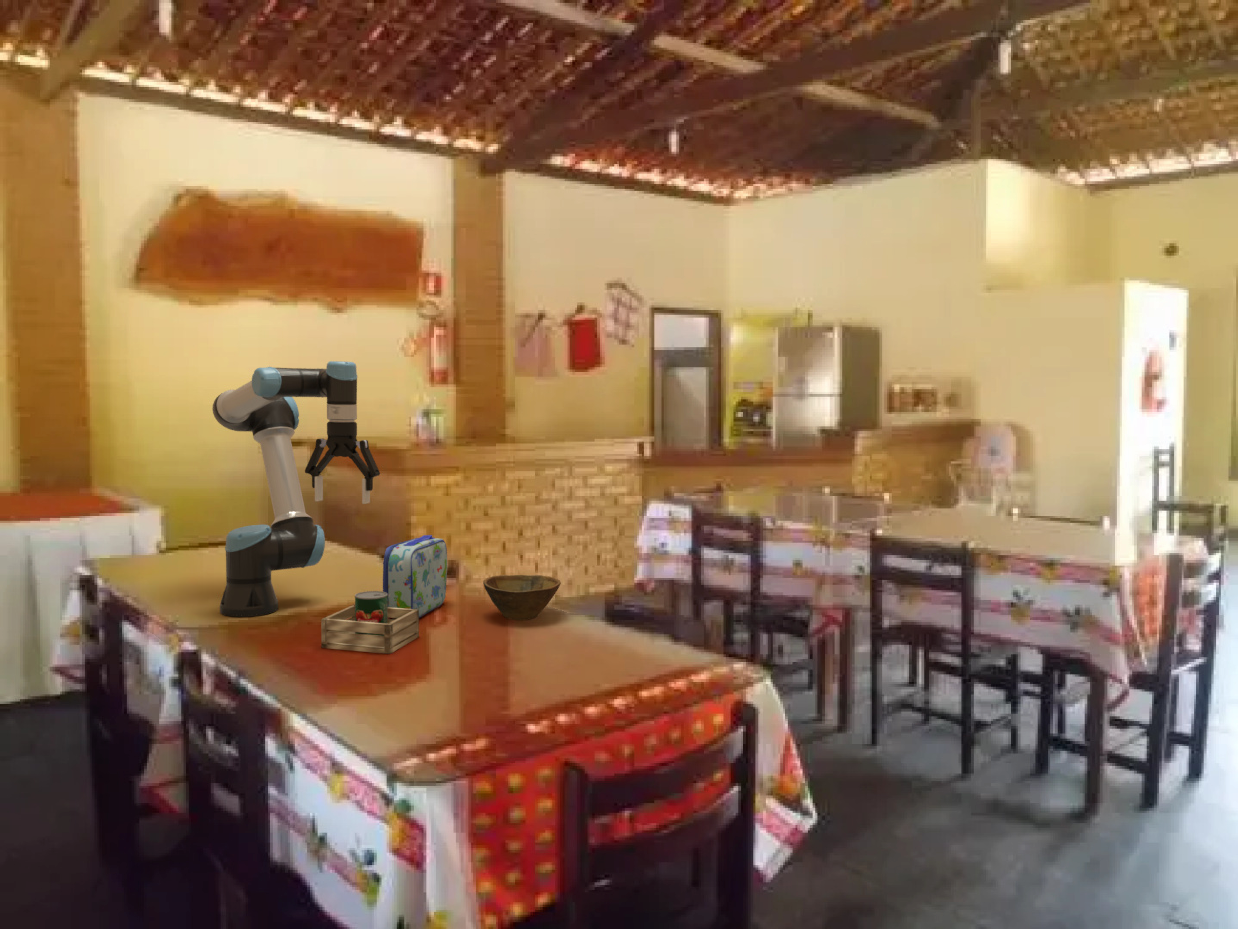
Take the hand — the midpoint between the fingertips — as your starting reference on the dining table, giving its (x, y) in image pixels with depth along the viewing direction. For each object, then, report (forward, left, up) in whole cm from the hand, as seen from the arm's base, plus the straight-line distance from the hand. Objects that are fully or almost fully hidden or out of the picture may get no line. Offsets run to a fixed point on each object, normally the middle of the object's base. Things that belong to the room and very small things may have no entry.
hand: (342, 502), depth 248 cm
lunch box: (+12, +19, -33) cm, 40 cm away
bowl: (+42, +23, -33) cm, 58 cm away
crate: (+15, -13, -33) cm, 38 cm away
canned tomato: (+15, -13, -32) cm, 38 cm away
